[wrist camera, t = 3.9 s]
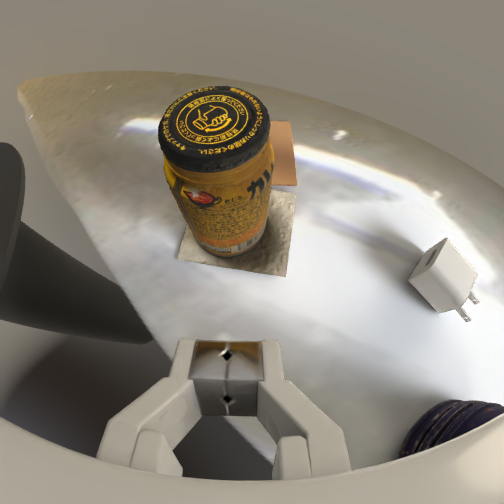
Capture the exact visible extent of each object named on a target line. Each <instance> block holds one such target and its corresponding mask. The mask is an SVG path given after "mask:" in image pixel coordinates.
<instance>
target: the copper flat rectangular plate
mask: <svg viewBox="0 0 504 504" xmlns="http://www.w3.org/2000/svg"><path fill="white" fill-rule="evenodd" d="M270 122H271V127H270V134H269V136H270V142H271V145H272V148H273V151H274V171H273V178H272V184H271V185H288V186H297V177H296V168H295V158H294V150H293V141H292V133H291V125H290V122H288V121H270Z"/></svg>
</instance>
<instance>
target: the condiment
mask: <svg viewBox="0 0 504 504" xmlns="http://www.w3.org/2000/svg"><path fill="white" fill-rule="evenodd" d="M270 127H271V122H270V120H269V115H268V111H267V108H266V107H265V106H264V105H263V103H262V102H261V101H260V100H259V99H258V98H257V97H255V96H254V95H251V94H250V93H248V92H246V91H243V90H241V89H239V88H234V87H229V86H215V87H206V88H201V89H198V90H194V91H191V92H189V93H187V94H185V95H183V96H182V97H180V98H179V99H177V100H176V101H175V102H174V103H173V104H171V105H170V106H169V108H168V109H167V110H166V112H165V114H164V116H163V117H162V119H161V121H160V123H159V126H158V136H159V137H158V140H159V143H160V147H161V150H162V151H163V155H164V172H165V176H166V179H167V183H168V184H169V186H170V190H171V191H172V194H173V196H174V198H175V199H176V201H177V204H178V207H179V208H180V211H181V212H182V214H183V217H184V218H185V220H186V223H187V225H186V229H185V233H184V236H183V240H182V243H181V247H180V251H179V255H178V259H180V260H186V261H191V262H196V263H202V264H208V265H213V266H220V267H225V268H231V269H239V270H245V271H250V272H256V273H262V274H270V275H276V276H282V277H286V271H287V263H288V256H289V248H290V240H291V232H292V224H293V217H294V208H295V200H296V194H294V193H289V192H283V191H276V190H271V184H272V178H273V171H274V151H273V148H272V145H271V142H270V136H269V134H270Z"/></svg>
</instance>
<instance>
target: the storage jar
mask: <svg viewBox="0 0 504 504" xmlns="http://www.w3.org/2000/svg"><path fill="white" fill-rule="evenodd" d="M503 413H504V407H503V406H501V405H500V404H496V403H487V402H483V401H461V400H448V401H444V402H442V403H439V404H438V405H436V406H434V407H433V408H431V409H430V410H429V411H427V412H426V413H425V414H424V415H423V416H422V417H421V418H420V419H419V420H418V422H417V423H416V424H415V425H414V427H413V428H412V429H411V431H410V432H409V434H408V436H407V437H406V439H405V441H404V443H403V445H402V448H401V451H400V453H399V457H398V459H400V458H404V457H407V456H410V455H413V454H416V453H419V452H422V451H424V450H427V449H430V448H432V447H435V446H437V445H440V444H442V443H445V442H447V441H450V440H452V439H454V438H456V437H459V436H461V435H463V434H465V433H467V432H469V431H471V430H473V429H475V428H477V427H479V426H481V425H483V424H485V423H487V422H489V421H491V420H492V419H494V418H496V417H498V416H499V415H501V414H503Z"/></svg>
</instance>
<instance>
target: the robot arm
mask: <svg viewBox="0 0 504 504" xmlns="http://www.w3.org/2000/svg"><path fill="white" fill-rule="evenodd" d="M201 415H215V416H253V417H257V418H258V420H259V421H260V422H261V424H262V425H263V426H264V428H265V429H266V431H267V432H268V433H269V435H270V436H271V437H272V438H273V440H274V441H275V442H276V444H277V451H276V456H275V461H274V466H273V471H272V480H269V481H226V480H209V479H198V478H188V477H182V472H183V468H182V467H181V465H180V463H179V462H178V460H177V459H176V457H175V455H174V453H173V452H172V450H173V449H174V448H175V447H176V446H177V445H178V443H179V442H180V441H181V440H182V439H183V438H184V437H185V435H186V434H187V433H188V432H189V431H190V430H191V429H192V427H193V426H194V425H195V424H196V422H197V421H198V420H199V419H200V418H201V417H202V416H201ZM0 504H504V413H503V414H501V415H499V416H498V417H496V418H494V419H492V420H491V421H489V422H487V423H485V424H483V425H481V426H479V427H477V428H475V429H473V430H471V431H469V432H467V433H465V434H463V435H461V436H459V437H456V438H454V439H452V440H450V441H447V442H445V443H442V444H440V445H437V446H435V447H432V448H430V449H427V450H424V451H422V452H419V453H416V454H413V455H410V456H407V457H404V458H400V459H397V460H394V461H390V462H386V463H383V464H379V465H375V466H371V467H367V468H362V469H358V470H353V471H352V469H351V465H350V460H349V456H348V451H347V447H346V443H345V439H344V434H343V430H342V429H341V428H340V427H339V426H338V425H337V424H335V423H334V422H333V421H332V420H331V419H330V418H329V417H328V416H327V415H325V414H324V413H323V412H322V411H321V410H320V409H319V408H318V407H317V406H316V405H315V404H314V403H312V402H311V401H310V400H309V399H308V398H307V397H306V396H305V395H304V394H303V393H302V392H301V391H300V390H299V389H298V388H297V387H296V386H295V385H294V384H292V383H291V382H290V381H289V380H284V375H283V367H282V359H281V351H280V343H279V341H278V340H262V342H261V341H217V340H199V339H197V340H193V339H180V340H179V341H178V344H177V348H176V351H175V355H174V358H173V362H172V366H171V370H170V373H169V377H168V378H165V377H164V378H162V379H161V380H160V381H158V382H157V383H156V384H155V385H153V386H152V387H151V388H150V389H148V390H147V391H146V392H145V393H143V394H142V395H141V396H140V397H138V398H137V399H136V400H134V401H133V402H132V403H131V404H129V405H128V406H127V407H125V408H124V409H123V410H122V411H120V412H119V413H118V414H116V415H115V416H114V417H112V418H111V419H110V420H109V421H108V423H107V426H106V429H105V432H104V435H103V438H102V440H101V443H100V446H99V449H98V452H97V455H96V458H93V457H90V456H87V455H84V454H81V453H78V452H75V451H73V450H70V449H67V448H65V447H62V446H60V445H57V444H55V443H52V442H50V441H47V440H45V439H43V438H41V437H38V436H36V435H34V434H32V433H30V432H28V431H26V430H24V429H22V428H20V427H18V426H16V425H14V424H12V423H10V422H9V421H7V420H5V419H3V418H1V417H0Z"/></svg>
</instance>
